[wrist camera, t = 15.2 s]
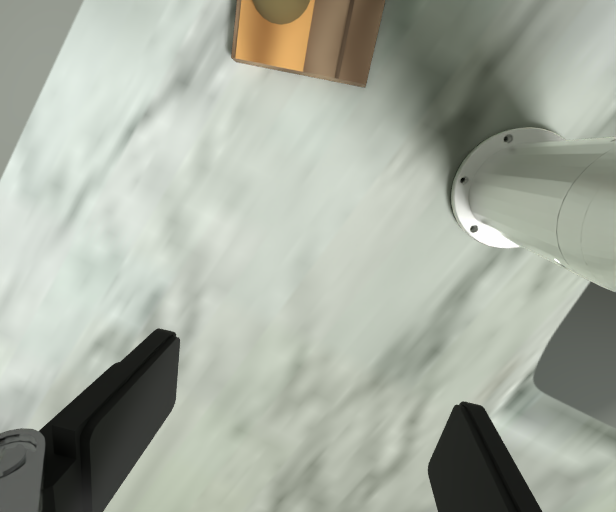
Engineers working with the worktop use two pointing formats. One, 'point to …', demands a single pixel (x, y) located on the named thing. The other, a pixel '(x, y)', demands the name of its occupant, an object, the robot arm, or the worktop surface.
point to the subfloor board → (312, 40)
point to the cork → (281, 10)
